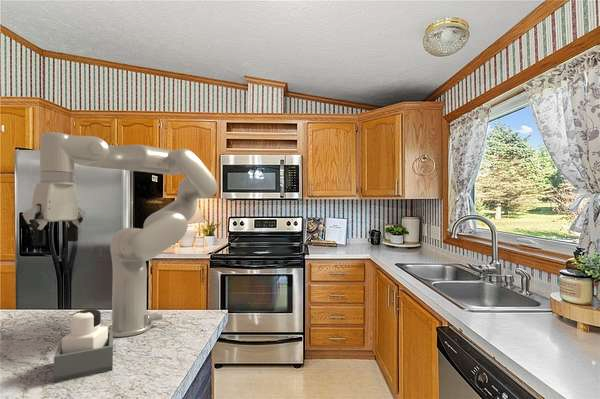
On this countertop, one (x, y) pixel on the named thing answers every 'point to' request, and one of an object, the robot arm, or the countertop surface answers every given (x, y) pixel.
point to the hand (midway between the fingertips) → (56, 243)
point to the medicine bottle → (85, 332)
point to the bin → (83, 361)
